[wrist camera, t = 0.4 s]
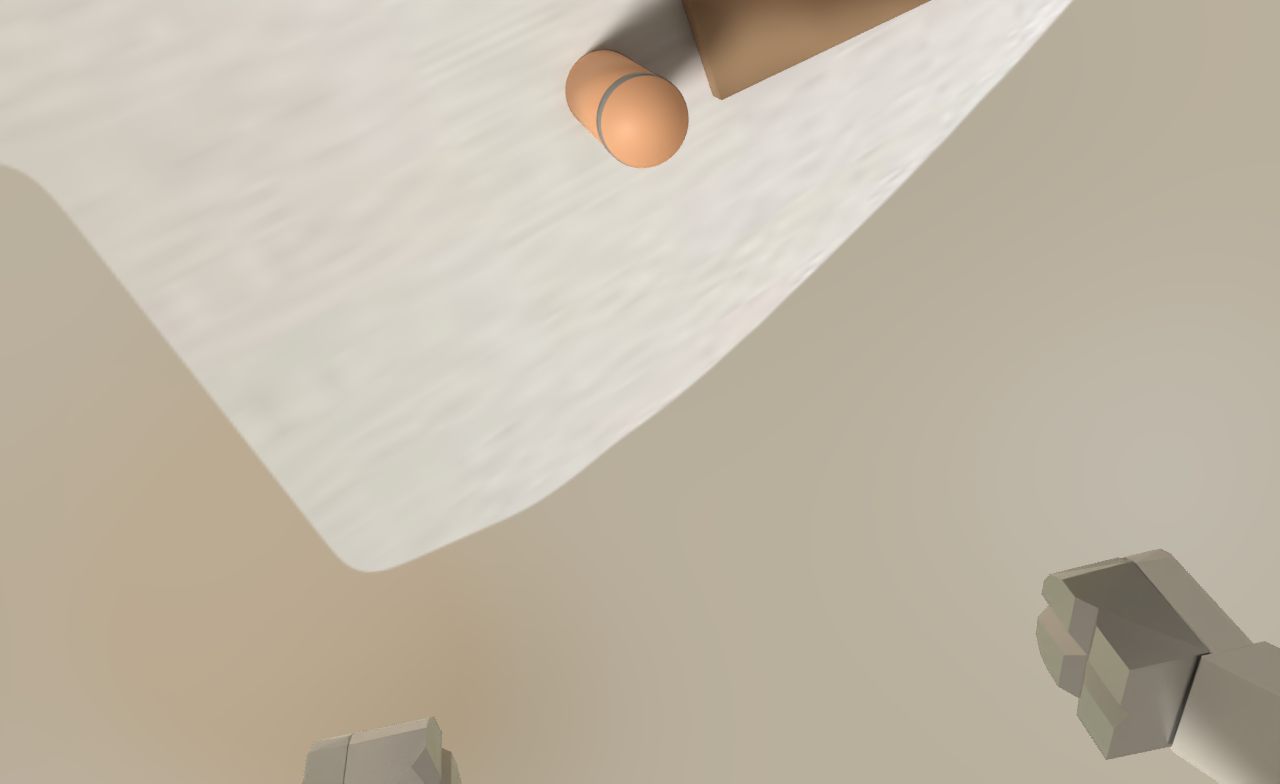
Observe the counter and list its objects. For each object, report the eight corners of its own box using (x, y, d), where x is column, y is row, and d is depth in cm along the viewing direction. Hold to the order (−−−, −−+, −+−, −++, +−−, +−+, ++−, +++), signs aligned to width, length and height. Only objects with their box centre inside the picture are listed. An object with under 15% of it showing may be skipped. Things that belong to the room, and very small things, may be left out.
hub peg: (552, 69, 51) (586, 99, 43) (624, 35, 51) (671, 59, 43) (583, 143, 53) (621, 183, 45) (651, 110, 53) (701, 145, 46)
